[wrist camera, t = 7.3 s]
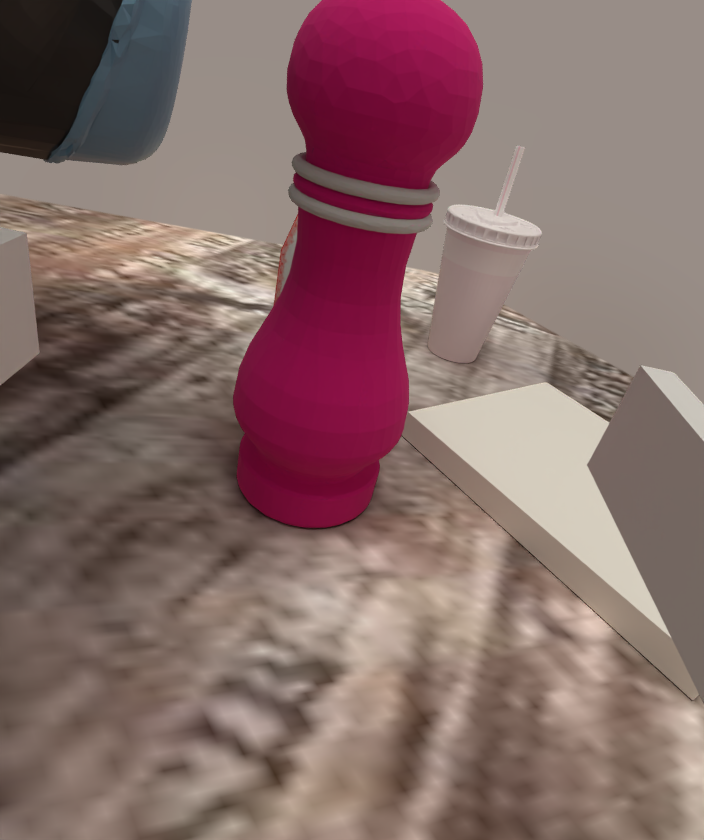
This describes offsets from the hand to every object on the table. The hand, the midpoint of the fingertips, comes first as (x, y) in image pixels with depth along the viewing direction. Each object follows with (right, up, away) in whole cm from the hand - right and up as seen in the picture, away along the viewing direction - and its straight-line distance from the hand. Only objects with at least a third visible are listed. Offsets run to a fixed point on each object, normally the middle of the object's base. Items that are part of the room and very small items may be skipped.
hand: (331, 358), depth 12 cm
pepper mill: (-2, -4, +14) cm, 14 cm away
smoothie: (+8, +4, +30) cm, 31 cm away
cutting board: (+13, -6, +17) cm, 22 cm away
